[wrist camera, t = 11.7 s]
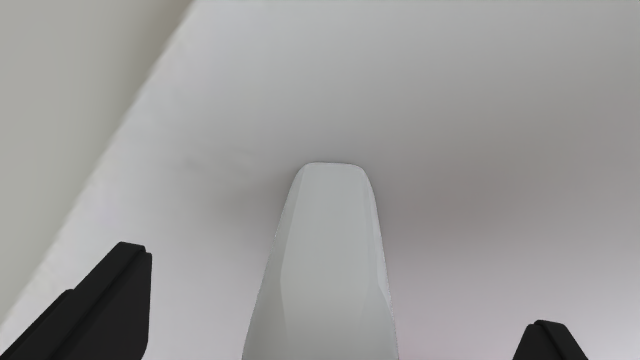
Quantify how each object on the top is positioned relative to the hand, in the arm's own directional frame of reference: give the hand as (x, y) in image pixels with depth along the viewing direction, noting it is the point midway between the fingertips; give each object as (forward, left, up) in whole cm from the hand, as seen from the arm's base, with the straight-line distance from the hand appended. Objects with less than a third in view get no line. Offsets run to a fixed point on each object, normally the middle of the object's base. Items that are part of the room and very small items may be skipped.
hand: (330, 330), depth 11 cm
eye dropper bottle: (0, 0, -6) cm, 6 cm away
